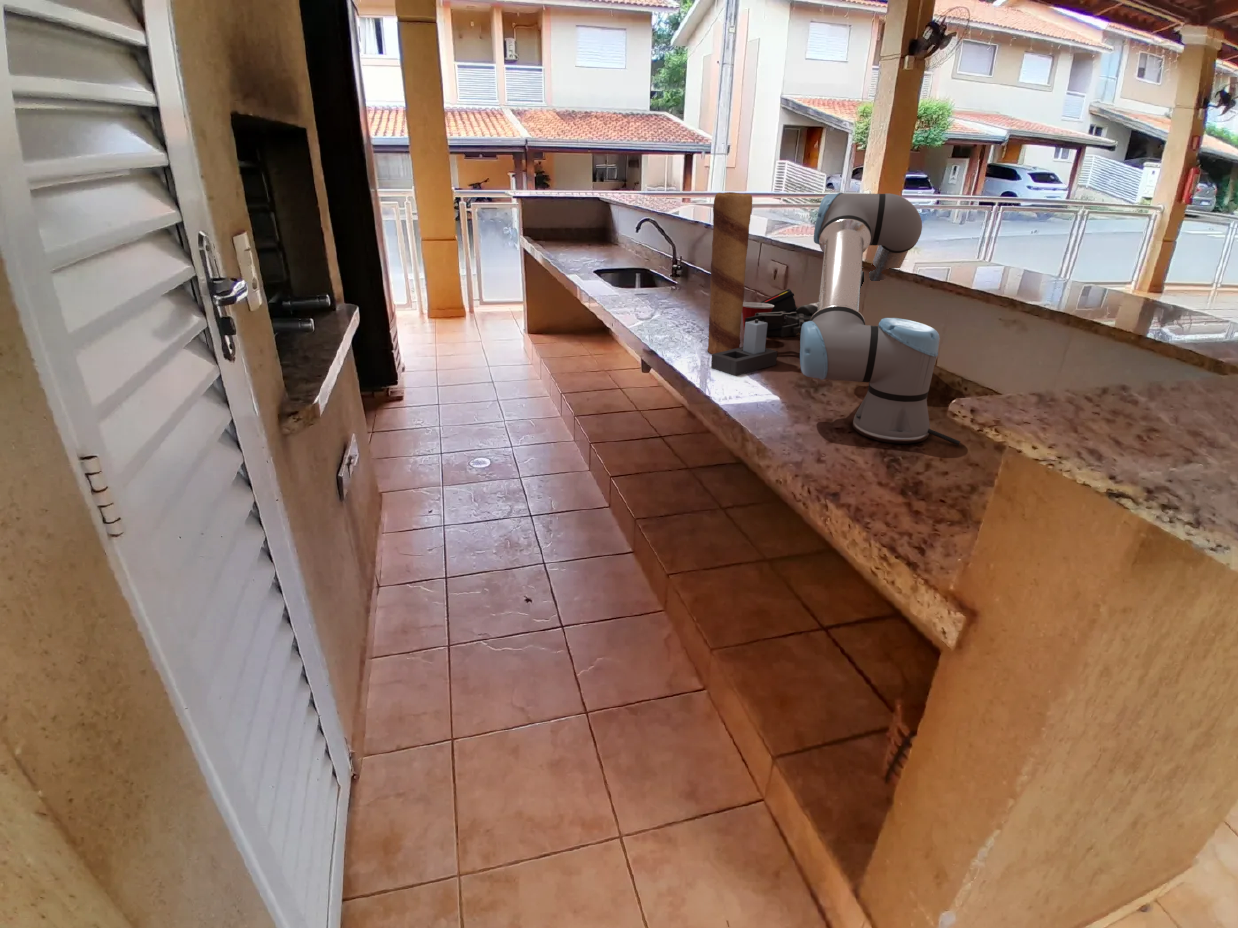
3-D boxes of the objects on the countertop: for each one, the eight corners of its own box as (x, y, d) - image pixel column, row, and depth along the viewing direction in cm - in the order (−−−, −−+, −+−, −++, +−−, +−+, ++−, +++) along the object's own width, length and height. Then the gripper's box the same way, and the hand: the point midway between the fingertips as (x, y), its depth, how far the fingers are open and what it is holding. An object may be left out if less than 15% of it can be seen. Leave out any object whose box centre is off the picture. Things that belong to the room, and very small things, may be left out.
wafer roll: (710, 345, 196) (719, 191, 176) (743, 349, 192) (756, 192, 172) (700, 354, 188) (709, 193, 168) (734, 357, 184) (747, 193, 164)
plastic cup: (775, 338, 203) (779, 302, 198) (763, 346, 195) (767, 308, 190) (744, 334, 209) (747, 298, 203) (732, 341, 200) (734, 304, 195)
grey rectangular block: (763, 364, 178) (768, 320, 172) (753, 367, 175) (757, 322, 170) (752, 360, 181) (756, 317, 175) (741, 363, 178) (745, 319, 173)
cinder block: (776, 364, 177) (777, 351, 175) (735, 375, 168) (736, 361, 166) (751, 357, 184) (752, 344, 182) (711, 367, 175) (711, 354, 173)
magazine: (807, 331, 205) (792, 290, 199) (769, 348, 208) (754, 307, 202) (804, 328, 208) (789, 288, 203) (767, 345, 211) (752, 305, 205)
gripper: (844, 337, 179) (797, 349, 168) (777, 321, 197) (730, 331, 186) (848, 311, 176) (800, 322, 165) (779, 298, 194) (732, 306, 183)
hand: (763, 327), depth 175 cm, fingers open, 13 cm apart
